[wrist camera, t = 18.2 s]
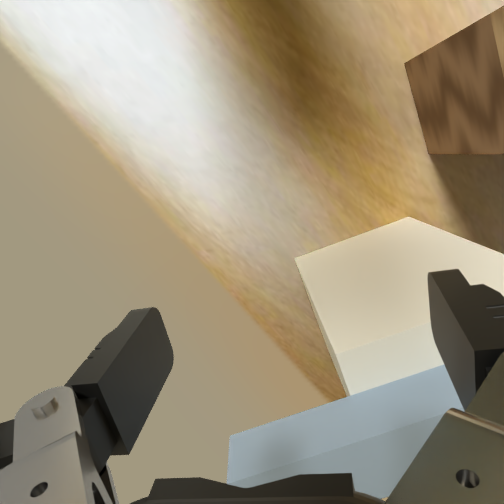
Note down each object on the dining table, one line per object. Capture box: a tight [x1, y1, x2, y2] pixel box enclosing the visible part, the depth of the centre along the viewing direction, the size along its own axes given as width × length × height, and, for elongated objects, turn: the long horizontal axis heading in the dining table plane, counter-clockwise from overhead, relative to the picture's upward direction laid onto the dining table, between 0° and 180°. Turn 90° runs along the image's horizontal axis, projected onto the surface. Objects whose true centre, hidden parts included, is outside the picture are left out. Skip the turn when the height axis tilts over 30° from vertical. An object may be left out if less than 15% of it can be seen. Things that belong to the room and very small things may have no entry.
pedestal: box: [294, 217, 504, 397], centre depth 38 cm, size 10×14×24 cm
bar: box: [227, 365, 465, 499], centre depth 24 cm, size 4×26×4 cm, turn 111°
